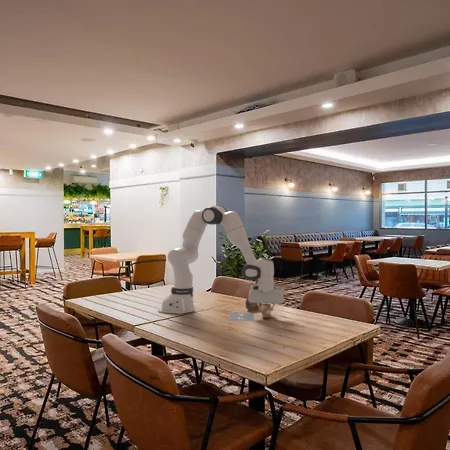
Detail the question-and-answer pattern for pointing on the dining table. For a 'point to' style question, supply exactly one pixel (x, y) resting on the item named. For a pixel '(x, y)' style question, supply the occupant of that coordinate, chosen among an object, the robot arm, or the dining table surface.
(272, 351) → the dining table surface
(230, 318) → the card
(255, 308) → the tin
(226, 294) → the dining table surface
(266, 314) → the oak block
